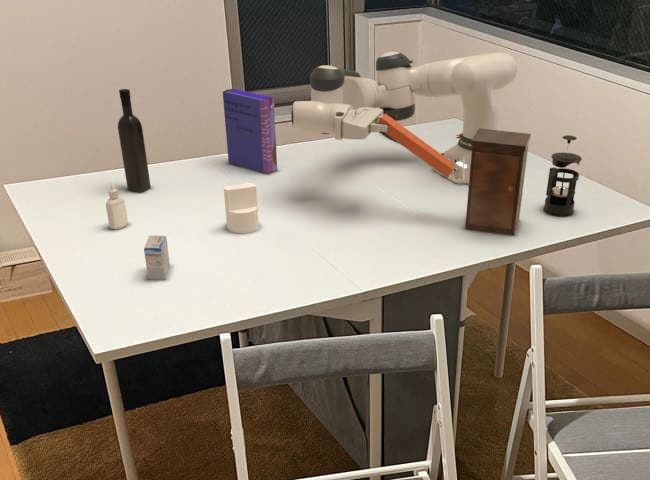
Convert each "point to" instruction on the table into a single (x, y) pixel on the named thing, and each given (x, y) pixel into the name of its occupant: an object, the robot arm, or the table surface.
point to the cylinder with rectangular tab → (241, 208)
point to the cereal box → (250, 130)
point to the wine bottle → (132, 147)
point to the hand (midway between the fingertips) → (390, 125)
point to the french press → (559, 196)
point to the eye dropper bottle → (116, 210)
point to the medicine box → (157, 257)
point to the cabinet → (496, 180)
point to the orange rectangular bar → (417, 146)
